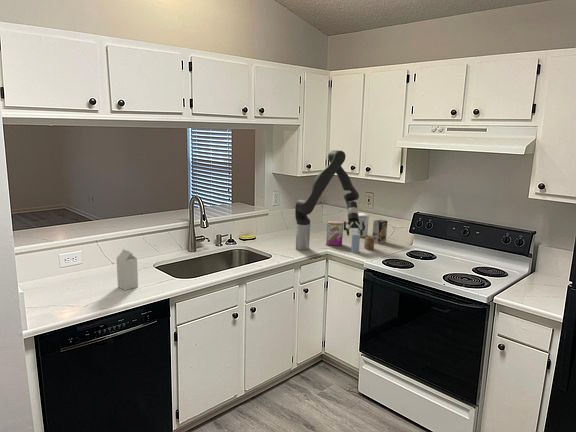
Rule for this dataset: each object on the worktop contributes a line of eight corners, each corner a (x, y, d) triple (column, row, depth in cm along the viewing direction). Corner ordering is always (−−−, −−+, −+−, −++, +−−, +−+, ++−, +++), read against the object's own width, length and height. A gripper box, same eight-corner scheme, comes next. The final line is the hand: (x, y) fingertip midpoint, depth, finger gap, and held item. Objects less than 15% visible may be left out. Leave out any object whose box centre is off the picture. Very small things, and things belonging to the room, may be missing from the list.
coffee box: (378, 244, 320) (380, 222, 317) (371, 242, 325) (373, 220, 322) (386, 242, 326) (388, 220, 323) (379, 240, 331) (380, 219, 328)
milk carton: (124, 290, 218) (123, 253, 214) (117, 287, 222) (115, 250, 218) (138, 287, 223) (136, 250, 219) (130, 283, 227) (129, 247, 224)
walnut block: (366, 250, 304) (367, 238, 302) (364, 248, 309) (365, 236, 307) (373, 249, 305) (374, 238, 303) (371, 247, 309) (371, 236, 308)
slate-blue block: (352, 252, 296) (353, 235, 294) (351, 250, 301) (352, 233, 298) (358, 252, 296) (359, 235, 294) (357, 250, 301) (358, 233, 298)
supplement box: (350, 234, 347) (352, 213, 344) (360, 233, 351) (362, 212, 348) (357, 237, 339) (359, 215, 335) (367, 236, 343) (369, 214, 339)
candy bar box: (326, 245, 313) (327, 222, 310) (326, 243, 318) (327, 220, 315) (342, 246, 312) (343, 223, 309) (342, 244, 317) (343, 221, 314)
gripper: (343, 212, 306) (345, 232, 297) (364, 212, 307) (366, 232, 298) (342, 218, 312) (343, 237, 303) (362, 218, 313) (364, 238, 304)
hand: (354, 235), depth 301 cm, fingers open, 8 cm apart
